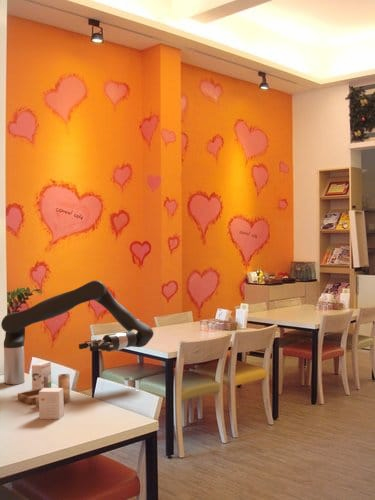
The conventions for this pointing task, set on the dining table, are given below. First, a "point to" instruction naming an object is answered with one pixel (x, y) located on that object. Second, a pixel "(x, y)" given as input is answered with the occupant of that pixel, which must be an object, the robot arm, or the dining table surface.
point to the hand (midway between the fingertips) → (84, 347)
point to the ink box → (41, 375)
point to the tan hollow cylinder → (64, 386)
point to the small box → (51, 403)
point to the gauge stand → (44, 387)
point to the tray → (29, 396)
